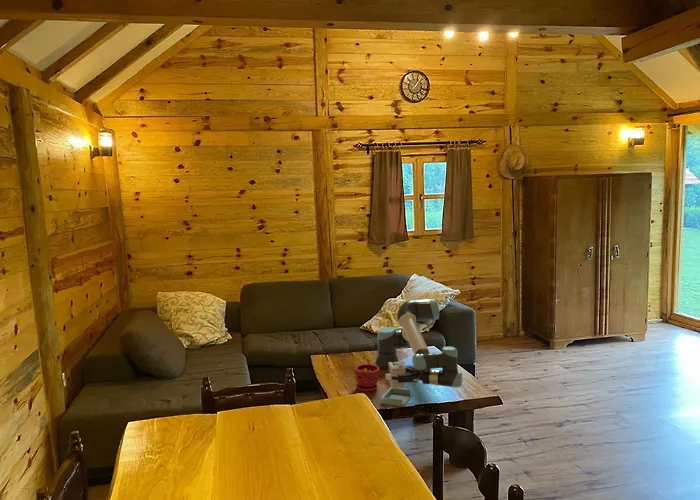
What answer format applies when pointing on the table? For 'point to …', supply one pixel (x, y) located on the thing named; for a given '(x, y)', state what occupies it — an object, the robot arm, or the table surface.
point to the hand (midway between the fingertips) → (389, 372)
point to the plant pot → (367, 377)
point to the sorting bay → (396, 397)
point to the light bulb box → (396, 369)
